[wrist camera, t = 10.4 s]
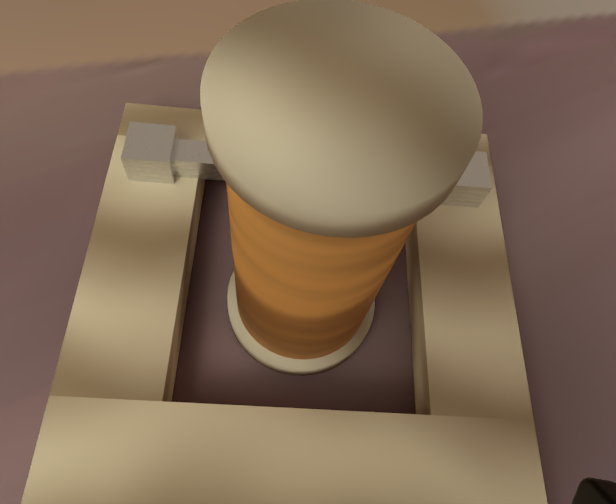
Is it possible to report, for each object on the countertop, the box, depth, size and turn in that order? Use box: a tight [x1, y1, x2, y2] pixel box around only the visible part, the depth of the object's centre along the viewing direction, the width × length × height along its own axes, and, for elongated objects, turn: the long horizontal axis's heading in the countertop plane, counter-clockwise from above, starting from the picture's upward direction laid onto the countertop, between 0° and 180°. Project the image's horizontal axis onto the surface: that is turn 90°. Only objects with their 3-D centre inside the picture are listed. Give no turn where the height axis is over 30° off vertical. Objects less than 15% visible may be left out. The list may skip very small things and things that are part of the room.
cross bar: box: [121, 122, 492, 208], centre depth 23 cm, size 2×16×2 cm, turn 88°
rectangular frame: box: [21, 103, 548, 504], centre depth 21 cm, size 24×18×2 cm
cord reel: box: [200, 0, 483, 375], centre depth 17 cm, size 6×6×13 cm
